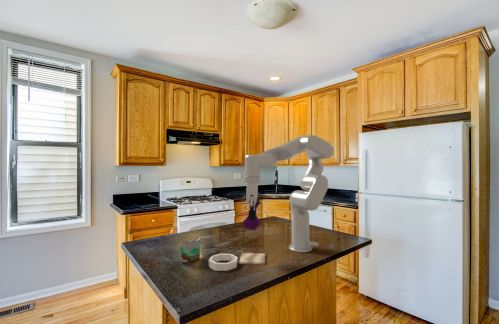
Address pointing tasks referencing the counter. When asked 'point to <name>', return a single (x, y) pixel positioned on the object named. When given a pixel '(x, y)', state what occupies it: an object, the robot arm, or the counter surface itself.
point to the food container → (190, 250)
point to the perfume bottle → (252, 223)
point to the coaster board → (252, 258)
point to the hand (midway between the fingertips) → (252, 217)
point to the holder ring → (223, 266)
